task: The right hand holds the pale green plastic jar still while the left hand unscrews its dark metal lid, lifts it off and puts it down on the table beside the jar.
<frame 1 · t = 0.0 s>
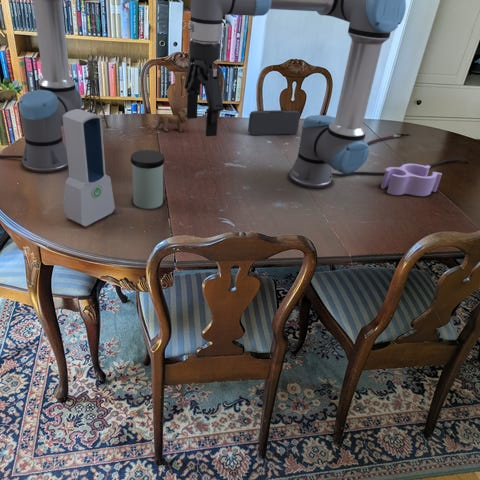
left hand: (199, 89, 153), 28 cm above the table, tool pointing down, fingers open, 13 cm apart
right hand: (201, 126, 124), 28 cm above the table, tool pointing down, fingers open, 13 cm apart
jar: (148, 201, 144), on the table
clip: (407, 189, 170), on the table
lid: (147, 157, 136), point 15 cm above the table, screwed on, not yet turned
electronic device: (90, 216, 134), on the table
handheld gaming console: (272, 134, 205), on the table
lion figurine: (173, 129, 198), on the table
sword: (389, 139, 213), on the table
miniature windmill: (94, 129, 191), on the table
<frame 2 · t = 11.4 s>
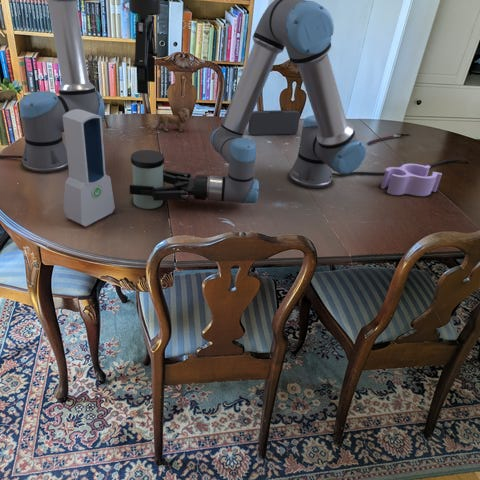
left hand: (146, 87, 125), 35 cm above the table, tool pointing down, fingers open, 11 cm apart
right hand: (132, 182, 140), 6 cm above the table, tool horizontal, fingers closed on jar, 9 cm apart
jar: (148, 201, 144), on the table, touching right hand
everything else where it was.
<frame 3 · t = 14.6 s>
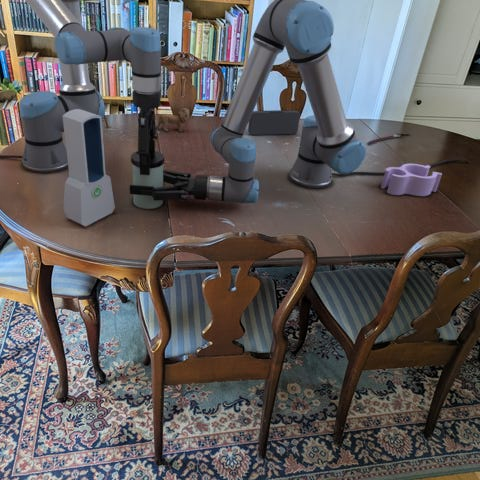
left hand: (147, 167, 138), 12 cm above the table, tool pointing down, fingers closed on lid, 9 cm apart
right hand: (132, 182, 140), 6 cm above the table, tool horizontal, fingers closed on jar, 9 cm apart
jar: (148, 201, 144), on the table, touching right hand
lid: (147, 157, 136), point 15 cm above the table, screwed on, not yet turned, touching left hand
everything else where it was.
when the left hand's fingers open (0 cm above the table, at t = 27.0 s): lid drops 2 cm, point 1 cm above the table.
when the right hand's fingers open (6 cm above the table, at t = 28.0 s): jar stays where it is, on the table.
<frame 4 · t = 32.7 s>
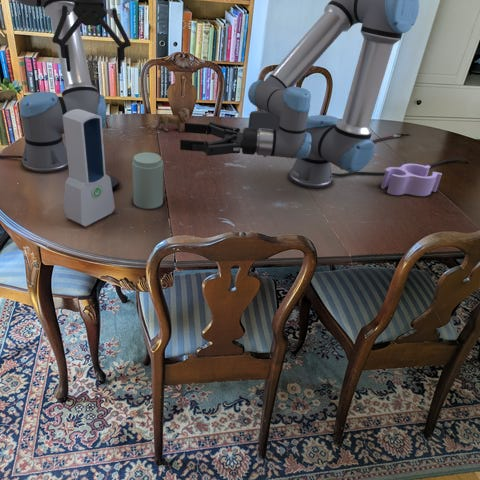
left hand: (94, 71, 131), 36 cm above the table, tool pointing down, fingers open, 13 cm apart
right hand: (182, 135, 133), 22 cm above the table, tool horizontal, fingers open, 13 cm apart
jar: (148, 201, 144), on the table
lid: (103, 182, 149), point 1 cm above the table, off its thread
everything else where it was.
at the end: lid came off its thread; lid point 1.3 cm above the table; the left hand is holding nothing; the right hand is holding nothing; jar tilted 0°; jar moved 0.0 cm from its start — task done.
